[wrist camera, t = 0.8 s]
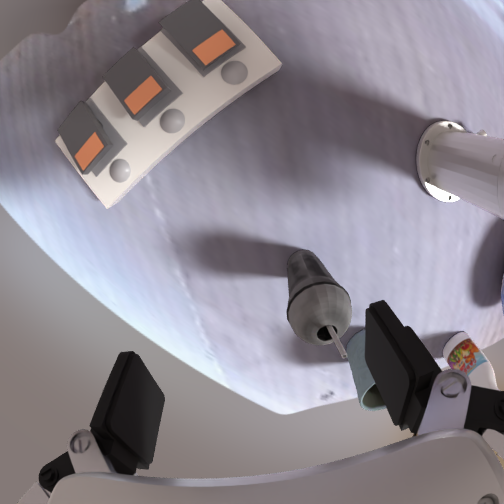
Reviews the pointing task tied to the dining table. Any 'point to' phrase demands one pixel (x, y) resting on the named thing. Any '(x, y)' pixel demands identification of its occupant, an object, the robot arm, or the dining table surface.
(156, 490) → the robot arm
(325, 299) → the beverage cup
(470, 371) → the milk bottle
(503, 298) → the ramen bowl
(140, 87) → the middle rocker
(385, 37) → the dining table surface
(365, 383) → the teal plant pot
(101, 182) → the rocker switch panel
